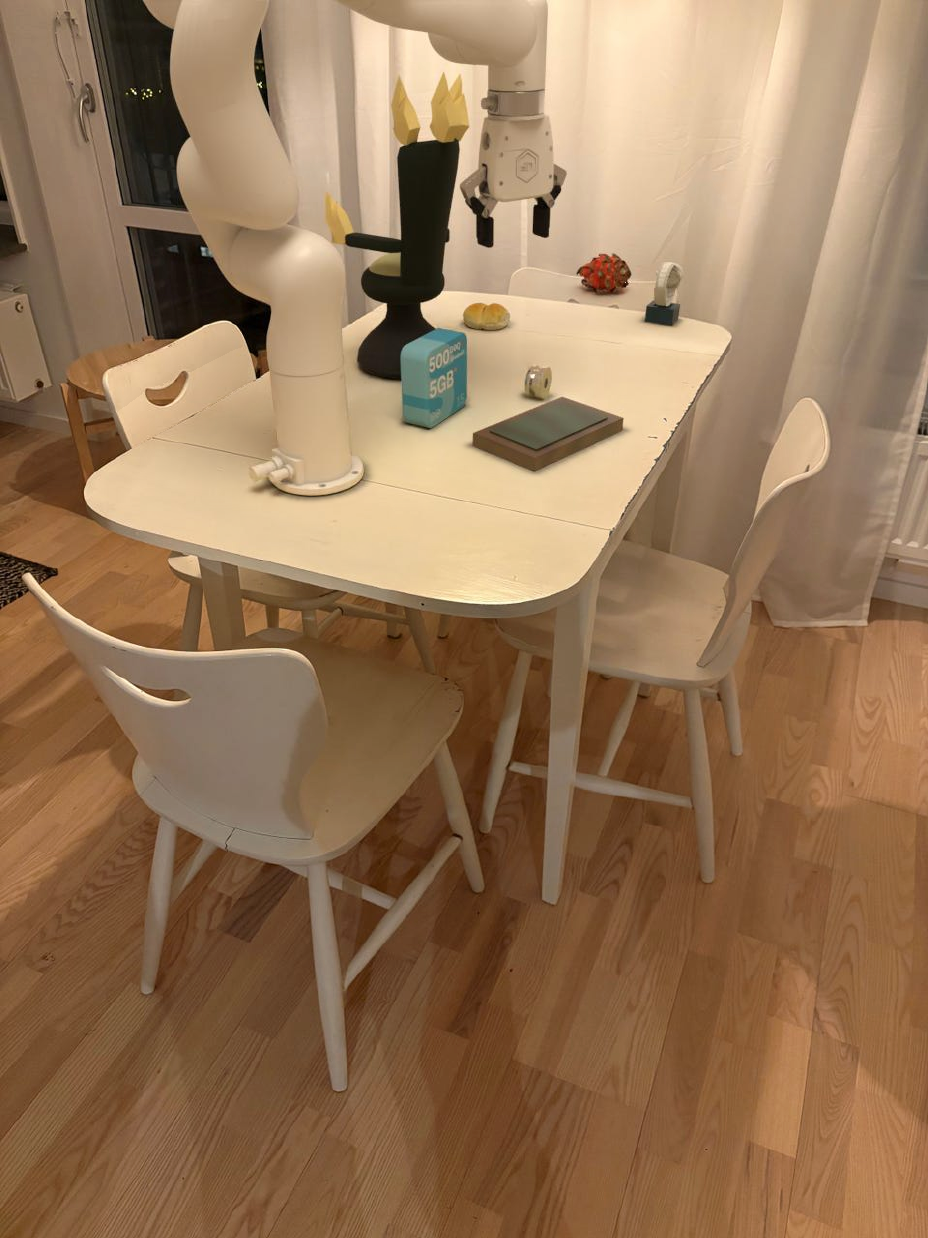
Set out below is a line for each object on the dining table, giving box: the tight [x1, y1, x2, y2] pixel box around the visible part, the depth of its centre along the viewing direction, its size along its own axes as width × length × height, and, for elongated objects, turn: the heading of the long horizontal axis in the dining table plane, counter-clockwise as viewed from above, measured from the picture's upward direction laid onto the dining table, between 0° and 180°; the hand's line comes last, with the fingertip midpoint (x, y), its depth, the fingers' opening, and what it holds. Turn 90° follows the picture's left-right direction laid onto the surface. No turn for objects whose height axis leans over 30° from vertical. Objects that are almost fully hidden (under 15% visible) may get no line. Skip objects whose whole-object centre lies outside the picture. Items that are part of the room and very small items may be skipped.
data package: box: [400, 327, 468, 429], centre depth 139 cm, size 12×4×12 cm, turn 150°
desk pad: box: [472, 396, 624, 472], centre depth 135 cm, size 20×12×2 cm, turn 135°
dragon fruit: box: [576, 252, 633, 295], centre depth 197 cm, size 8×8×12 cm
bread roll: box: [462, 302, 511, 331], centre depth 178 cm, size 8×9×4 cm
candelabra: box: [324, 71, 470, 380], centre depth 147 cm, size 19×22×45 cm
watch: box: [644, 261, 685, 327], centre depth 179 cm, size 6×8×11 cm
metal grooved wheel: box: [524, 364, 553, 400], centre depth 147 cm, size 5×3×5 cm, turn 155°
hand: (513, 240), depth 131 cm, fingers open, 9 cm apart
